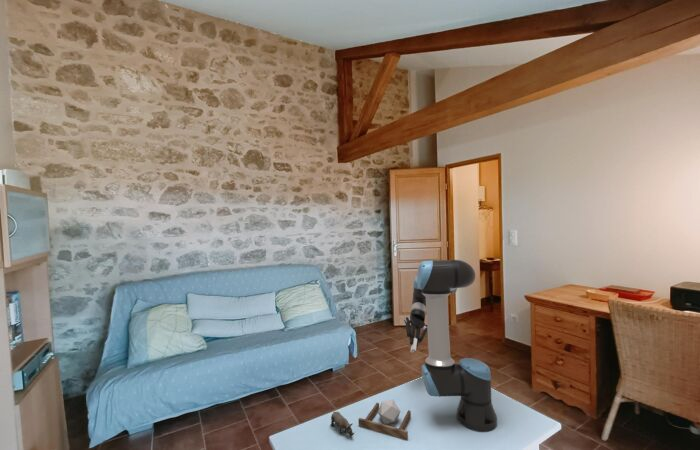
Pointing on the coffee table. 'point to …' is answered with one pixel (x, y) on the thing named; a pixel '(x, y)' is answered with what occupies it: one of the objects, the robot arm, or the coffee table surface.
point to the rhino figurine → (341, 423)
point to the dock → (383, 428)
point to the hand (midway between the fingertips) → (413, 350)
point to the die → (389, 411)
